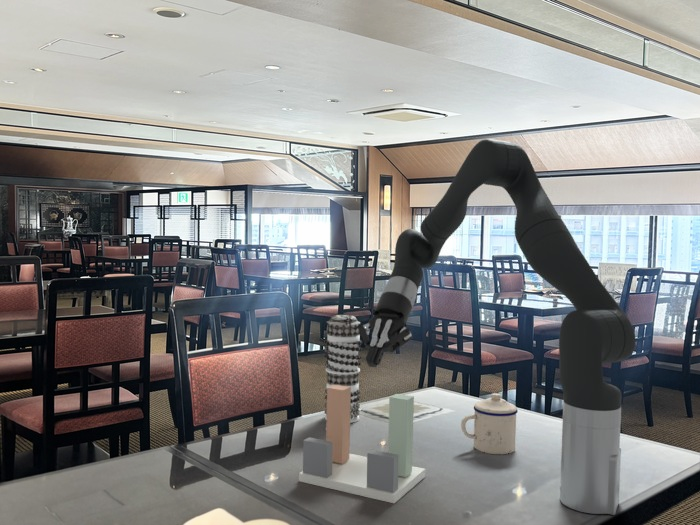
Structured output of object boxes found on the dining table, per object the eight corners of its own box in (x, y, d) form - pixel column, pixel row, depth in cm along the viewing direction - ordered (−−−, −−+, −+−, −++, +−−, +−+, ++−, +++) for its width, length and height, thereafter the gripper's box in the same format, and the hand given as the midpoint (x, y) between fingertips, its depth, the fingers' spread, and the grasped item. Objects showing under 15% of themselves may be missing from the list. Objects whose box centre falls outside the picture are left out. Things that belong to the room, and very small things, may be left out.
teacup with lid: (505, 440, 145) (507, 388, 145) (523, 454, 136) (525, 399, 136) (453, 442, 143) (455, 389, 143) (468, 457, 134) (470, 400, 134)
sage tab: (412, 471, 120) (413, 396, 120) (405, 477, 118) (407, 399, 117) (394, 468, 122) (396, 393, 121) (387, 473, 119) (389, 397, 119)
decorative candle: (348, 426, 153) (350, 319, 152) (315, 419, 158) (317, 316, 157) (367, 417, 161) (370, 315, 160) (336, 411, 166) (337, 312, 165)
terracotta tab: (349, 458, 126) (350, 386, 126) (341, 463, 124) (343, 390, 123) (333, 455, 128) (334, 384, 127) (325, 460, 125) (327, 387, 125)
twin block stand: (425, 476, 123) (426, 437, 123) (394, 503, 111) (395, 459, 110) (336, 458, 132) (337, 421, 131) (298, 481, 120) (299, 440, 119)
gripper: (365, 288, 148) (337, 350, 138) (419, 292, 142) (395, 357, 132) (375, 309, 153) (349, 371, 143) (428, 314, 147) (405, 379, 137)
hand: (371, 364), depth 137 cm, fingers closed
